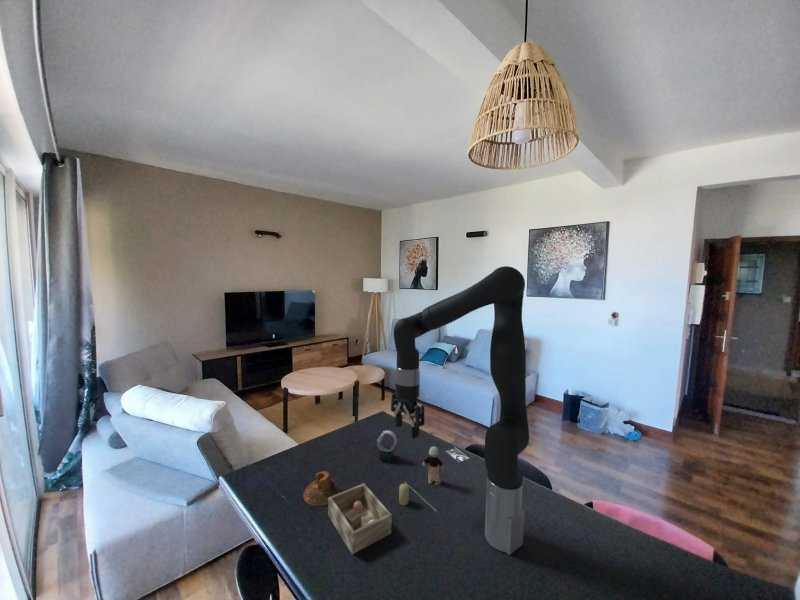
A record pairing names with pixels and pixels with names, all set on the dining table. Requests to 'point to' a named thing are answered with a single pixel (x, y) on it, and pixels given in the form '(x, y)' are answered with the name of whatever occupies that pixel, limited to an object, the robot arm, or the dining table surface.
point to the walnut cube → (353, 519)
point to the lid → (405, 494)
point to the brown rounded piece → (321, 490)
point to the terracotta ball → (357, 506)
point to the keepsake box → (370, 511)
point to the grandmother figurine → (433, 466)
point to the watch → (386, 452)
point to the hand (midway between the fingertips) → (406, 431)
